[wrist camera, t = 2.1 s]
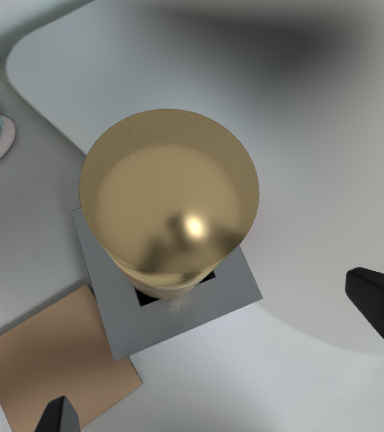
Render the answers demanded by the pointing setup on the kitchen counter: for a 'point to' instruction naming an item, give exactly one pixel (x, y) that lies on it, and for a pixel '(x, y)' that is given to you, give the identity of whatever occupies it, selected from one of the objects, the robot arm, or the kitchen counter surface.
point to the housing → (164, 308)
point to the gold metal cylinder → (168, 198)
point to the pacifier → (6, 134)
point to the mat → (61, 363)
